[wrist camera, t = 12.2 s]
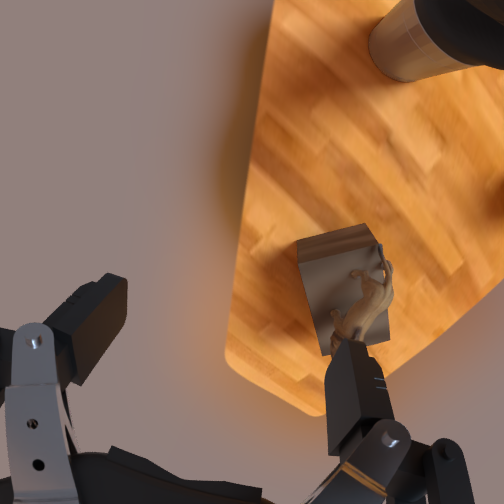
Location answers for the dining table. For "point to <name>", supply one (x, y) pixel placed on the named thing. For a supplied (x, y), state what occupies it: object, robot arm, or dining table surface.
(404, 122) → the dining table surface
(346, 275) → the brown wooden block
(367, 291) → the lion figurine
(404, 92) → the dining table surface
